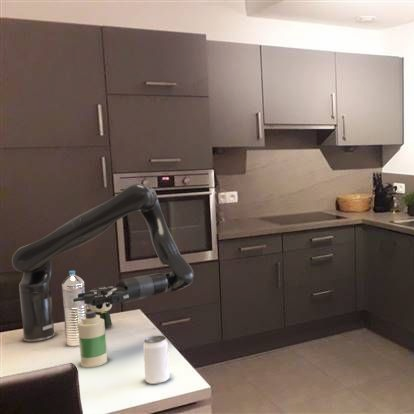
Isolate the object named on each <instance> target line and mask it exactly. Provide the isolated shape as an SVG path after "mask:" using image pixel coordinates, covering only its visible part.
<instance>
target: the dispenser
mask: <svg viewBox="0 0 414 414" xmlns="http://www.w3.org/2000/svg"><path fill="white" fill-rule="evenodd" d="M78 329H79V344H80V345H79V356H80V365H81V366H82V367H83V368H94V367H95V368H96V367H99V366H102V365H104V364H106V363H107V362H108V349H107V348H108V347H107V335H106V326H105V322H104V319H102V318H100V315H96V311H91V310H89V311H87V312H86V316H85V317H83V318H82V321H81V322H79V323H78Z"/></svg>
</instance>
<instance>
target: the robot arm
mask: <svg viewBox="0 0 414 414" xmlns="http://www.w3.org/2000/svg"><path fill="white" fill-rule="evenodd" d="M159 201H160V200H159V198H158V194H157V192H156V189H154V187H152V186H150V185H147V184H143V183H133V184H131V185H129V186H128V187H126V188H125V189H123V190H122V191H120V192H119V193H118V194H116V195H115V196H112V197H111V198H110V199H109V200H107V201H105V202H103V203H101V204H99V205H96V206H95V207H93V208H91V209H88V210H87V211H85V212H83V213H81V214H79V215H78V216H76V217H74V218H72V219H71V220H69V221H67V222H66V223H64V224H63V225H61V226H60V227H58V228H57V229H55V230H54V231H52V232H51V233H49V234H47V235H46V236H44V237H43V238H41V239H38V240H36V241H34V242H31V243H29V244H26V245H23V246H21V247H19V248H17V250H16V251H15V252H14V253H13V254H12V257H11V265H12V268H14V269H15V270H16V271H17V272H20V273H22V278H21V281H20V282H19V284H18V290H19V299H20V310H21V322H22V332H23V342H28V343H30V342H31V343H32V342H33V343H34V342H41V341H45V340H48V339H51V338H53V337H55V334H56V332H55V326H54V325H55V323H54V322H55V321H54V311H53V299H52V298H53V297H52V289H51V288H52V287H51V282H52V279H53V278H52V277H53V268H52V266H53V265H52V259H53V258H55V257H58V256H59V255H60V254H63V253H65V252H68V251H70V250H71V251H72V250H73V249H76V248H78V247H80V246H82V245H84V244H87V243H88V242H91V241H93V240H94V239H96V238H98V237H99V236H101V235H102V234H103V233H105V232H106V231H108V229H109V228H111V227H112V226H113V225H114V224H115V223H116V222H117V221H119V220H120V219H122V218H125V217H126V216H128V215H131V214H133V213H135V212H138V211H139V213H140V214H141V216H142V218H143V219H144V221H145V223H146V226H147V228H148V231H149V236H150V240H151V244H152V247H153V249H154V251H155V253H156V255H157V258H158V260H159V262H160V264H161V265H162V266H165V267H166V266H168V267H169V268H170V270H171V271H169V272H164V273H163V272H157V273H156V272H155V273H151V274H146V275H138V276H134V277H133V276H132V277H127V278H124V279H120V280H118V281H117V284H116V285H115V286H110V285H104V286H99V287H98V286H97V287H94V288H89V289H88V291H85V293H81V294H78V298H80V297H84V295H86V294H94V292H97V294H95V298H92V299H91V305H92V306H96V305H100V304H104V303H105V304H108V303H110V304H112V305H116V304H119V303H123V304H127V303H130V302H135V301H139V300H144V299H146V298H148V297H153V296H156V295H160V294H163V293H172V292H173V293H174V292H178V291H180V290H183V289H185V288H186V287H189V286H190V285H191V284H193V283H194V281H195V272H194V269H193V268H192V266H191V265H190V264H189V262H188V261H187V260H186V258H185V257H184V256H183V255H182V254H181V253H180V250H179V248H178V246H177V244H176V242H175V239H174V237H173V236H172V234H171V231H170V229H169V227H168V224H167V222H166V220H165V217H164V214H163V211H162V208H161V204H160V202H159ZM102 295H103V296H102ZM80 301H84V300H80Z"/></svg>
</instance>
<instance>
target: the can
mask: <svg viewBox="0 0 414 414" xmlns="http://www.w3.org/2000/svg"><path fill="white" fill-rule="evenodd" d="M142 347H143V363H144V377H145V379H144V380H145V382H146V383H147V384H150V385H159V384H163V383H165V382H167V381H168V380H169V379H170V377H171V376H170V375H171V373H170V358H169V357H170V356H169V344H168V340H167V337H166V335H153V336H149V337H147V338H145V339H144V343H143V346H142Z"/></svg>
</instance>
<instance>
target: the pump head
mask: <svg viewBox="0 0 414 414" xmlns="http://www.w3.org/2000/svg"><path fill="white" fill-rule="evenodd" d="M92 298H95V294H86V295H84V297H80V298H75V299H73V301H74V302H76V301H80V300H84V303H85V304H88V308H92V305H91V299H92Z"/></svg>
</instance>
